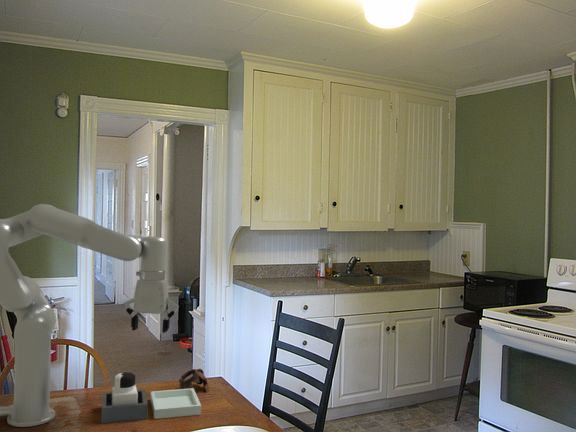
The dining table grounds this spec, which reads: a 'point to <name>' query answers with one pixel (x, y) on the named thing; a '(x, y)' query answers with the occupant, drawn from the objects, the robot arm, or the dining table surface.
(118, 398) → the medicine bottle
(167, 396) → the tray
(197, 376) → the broken pottery ring
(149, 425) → the dining table surface
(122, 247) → the robot arm
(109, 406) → the holder
